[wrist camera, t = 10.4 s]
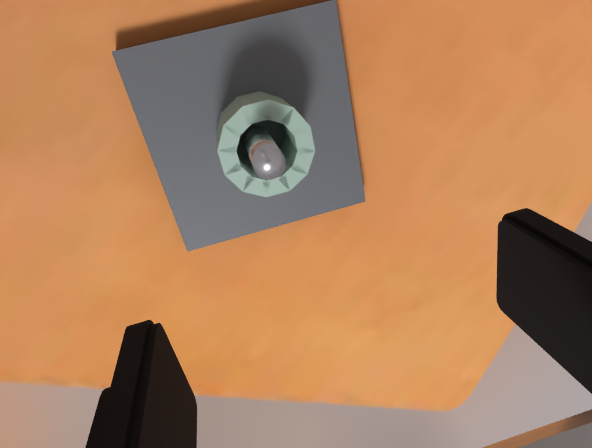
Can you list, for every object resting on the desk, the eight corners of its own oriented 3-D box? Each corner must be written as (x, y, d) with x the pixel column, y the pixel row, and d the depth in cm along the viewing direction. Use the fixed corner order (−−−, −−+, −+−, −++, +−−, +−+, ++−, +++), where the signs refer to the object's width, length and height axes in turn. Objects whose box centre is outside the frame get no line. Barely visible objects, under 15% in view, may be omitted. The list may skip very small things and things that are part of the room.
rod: (239, 126, 31) (249, 152, 24) (264, 120, 32) (281, 143, 24) (246, 151, 32) (257, 183, 25) (270, 145, 32) (288, 174, 25)
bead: (206, 104, 30) (206, 115, 26) (289, 83, 31) (303, 90, 26) (230, 183, 33) (234, 206, 29) (305, 163, 34) (321, 182, 29)
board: (115, 51, 29) (111, 51, 28) (330, 1, 30) (335, -1, 29) (188, 243, 36) (187, 251, 35) (359, 195, 37) (365, 201, 36)
